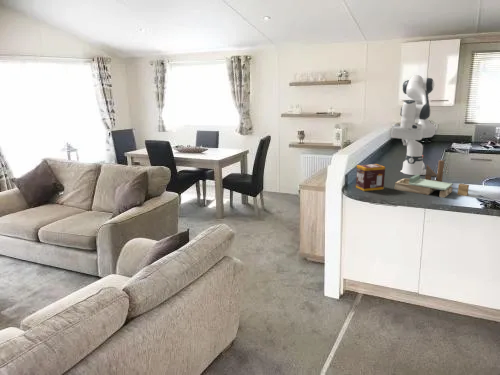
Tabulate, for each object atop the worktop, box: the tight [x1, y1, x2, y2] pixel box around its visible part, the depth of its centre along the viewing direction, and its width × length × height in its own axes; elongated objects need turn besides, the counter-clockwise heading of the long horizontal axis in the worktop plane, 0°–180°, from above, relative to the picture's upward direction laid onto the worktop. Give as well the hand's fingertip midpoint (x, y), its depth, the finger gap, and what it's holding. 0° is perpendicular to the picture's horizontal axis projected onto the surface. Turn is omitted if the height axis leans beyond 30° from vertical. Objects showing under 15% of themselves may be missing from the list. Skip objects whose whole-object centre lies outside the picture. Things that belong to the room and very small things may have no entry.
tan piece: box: [394, 177, 453, 199], centre depth 256 cm, size 16×31×4 cm, turn 49°
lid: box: [408, 174, 454, 191], centre depth 252 cm, size 16×22×4 cm
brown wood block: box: [456, 183, 470, 197], centre depth 246 cm, size 4×5×6 cm
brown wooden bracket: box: [424, 159, 445, 182], centre depth 266 cm, size 4×11×18 cm, turn 64°
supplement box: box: [355, 163, 386, 192], centre depth 262 cm, size 10×15×16 cm
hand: (405, 145), depth 266 cm, fingers closed
